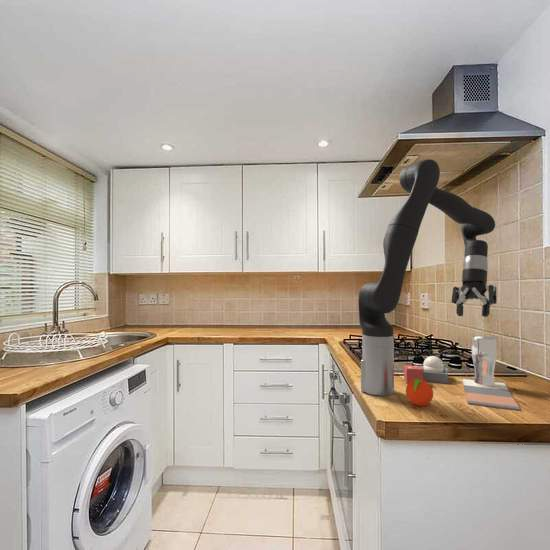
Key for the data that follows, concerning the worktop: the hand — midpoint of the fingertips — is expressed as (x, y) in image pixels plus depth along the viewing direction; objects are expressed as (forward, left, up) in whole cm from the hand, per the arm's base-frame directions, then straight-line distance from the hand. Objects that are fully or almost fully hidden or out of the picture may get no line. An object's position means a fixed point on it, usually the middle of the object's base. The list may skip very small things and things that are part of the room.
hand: (472, 316), depth 120 cm
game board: (+3, -13, -22) cm, 25 cm away
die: (-18, -11, -22) cm, 30 cm away
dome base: (-12, -3, -22) cm, 25 cm away
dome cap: (-12, -3, -20) cm, 24 cm away
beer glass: (+3, -5, -22) cm, 22 cm away
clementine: (-15, -34, -22) cm, 43 cm away
